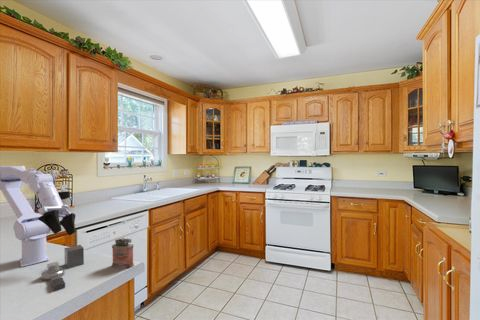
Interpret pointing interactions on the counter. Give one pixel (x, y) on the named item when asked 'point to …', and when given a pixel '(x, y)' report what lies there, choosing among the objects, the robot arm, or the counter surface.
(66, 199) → the glass holder
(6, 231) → the counter surface
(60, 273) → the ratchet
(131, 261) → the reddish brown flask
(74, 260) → the brushed dark grey cube
